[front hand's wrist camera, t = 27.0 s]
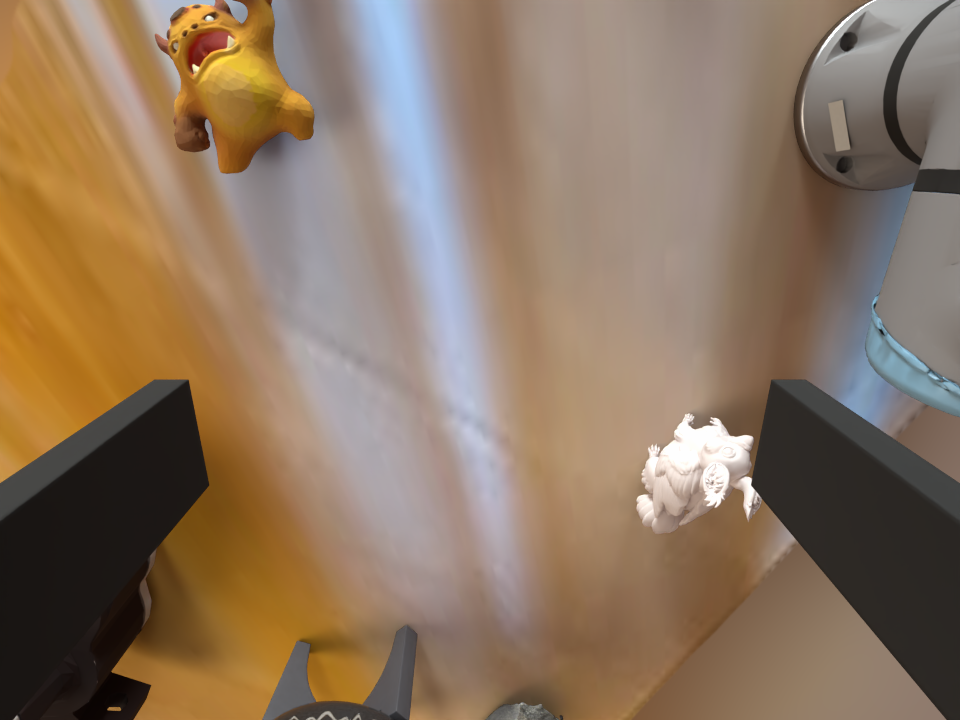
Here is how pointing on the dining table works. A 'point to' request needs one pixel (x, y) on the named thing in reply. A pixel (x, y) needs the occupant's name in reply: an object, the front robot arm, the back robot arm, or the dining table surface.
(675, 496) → the figurine
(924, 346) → the front robot arm
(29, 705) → the mechanical component
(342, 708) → the planter
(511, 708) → the rock
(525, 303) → the dining table surface
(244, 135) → the toy
